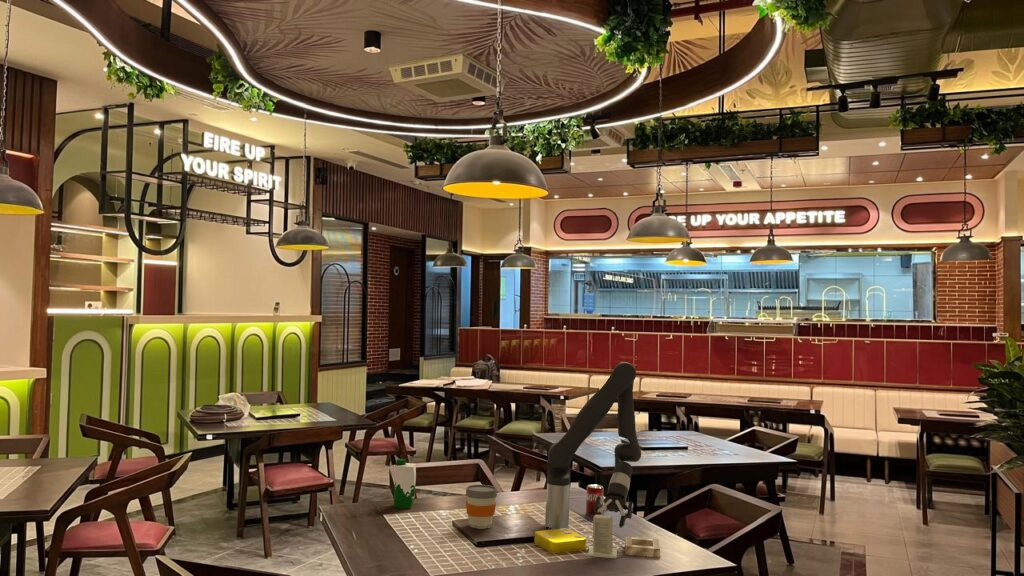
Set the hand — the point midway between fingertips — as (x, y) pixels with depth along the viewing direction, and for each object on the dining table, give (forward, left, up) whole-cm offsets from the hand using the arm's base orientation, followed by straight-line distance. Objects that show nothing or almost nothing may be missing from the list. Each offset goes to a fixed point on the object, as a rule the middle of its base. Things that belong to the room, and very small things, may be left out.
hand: (609, 524), depth 262 cm
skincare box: (-2, -8, -8) cm, 11 cm away
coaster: (-2, -8, -8) cm, 11 cm away
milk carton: (-89, +34, -8) cm, 96 cm away
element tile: (-18, -3, -9) cm, 20 cm away
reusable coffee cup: (-51, +13, -8) cm, 53 cm away
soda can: (-7, +45, -8) cm, 47 cm away
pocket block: (+12, -2, -8) cm, 15 cm away
